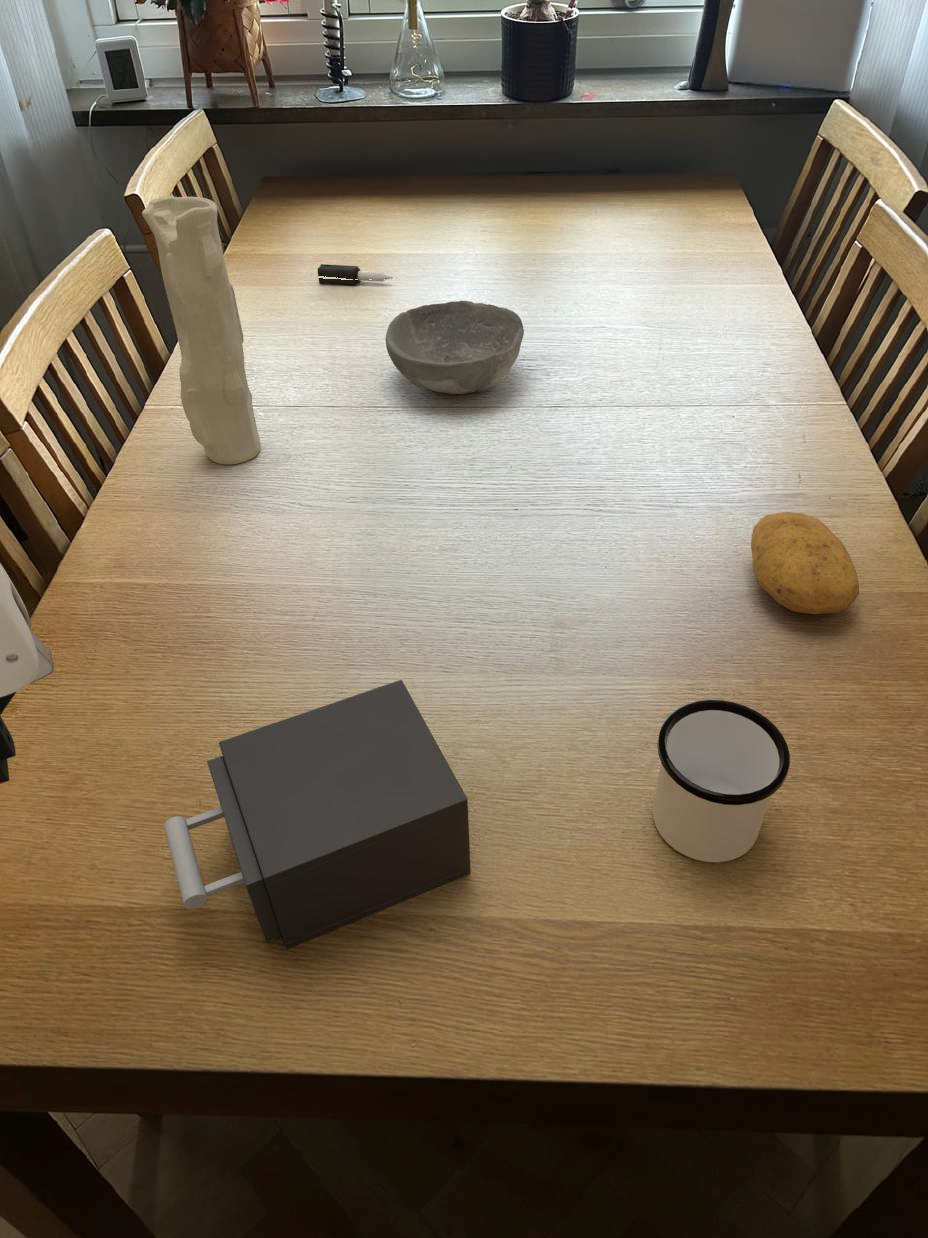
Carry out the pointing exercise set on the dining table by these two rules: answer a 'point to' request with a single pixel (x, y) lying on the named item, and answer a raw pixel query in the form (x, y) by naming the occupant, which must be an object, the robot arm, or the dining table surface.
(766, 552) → the potato
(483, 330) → the bowl
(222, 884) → the drawer front with handle
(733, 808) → the mug
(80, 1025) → the dining table surface
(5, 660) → the robot arm
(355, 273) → the black and grey marker
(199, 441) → the vase
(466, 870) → the dark grey drawer box
